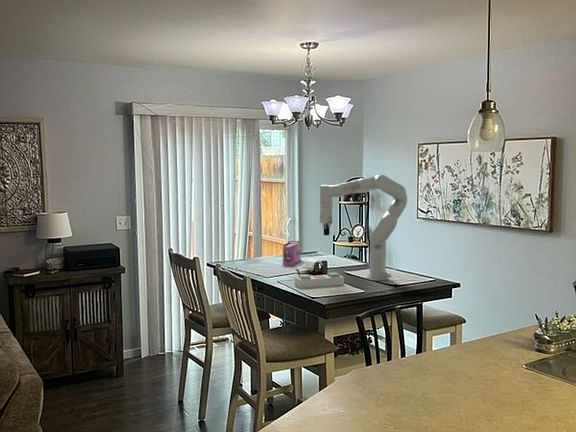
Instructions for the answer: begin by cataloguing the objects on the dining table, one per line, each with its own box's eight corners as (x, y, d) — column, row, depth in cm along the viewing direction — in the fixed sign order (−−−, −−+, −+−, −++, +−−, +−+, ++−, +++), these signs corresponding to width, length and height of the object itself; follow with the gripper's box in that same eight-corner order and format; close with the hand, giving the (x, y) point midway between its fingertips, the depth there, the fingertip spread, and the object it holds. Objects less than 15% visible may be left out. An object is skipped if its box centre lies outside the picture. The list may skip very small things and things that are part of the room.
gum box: (293, 265, 388) (293, 246, 387) (282, 265, 390) (282, 245, 389) (300, 259, 411) (300, 241, 410) (290, 259, 413) (290, 240, 412)
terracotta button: (322, 280, 332) (322, 275, 332) (325, 282, 327) (325, 277, 327) (313, 280, 330) (313, 275, 330) (316, 282, 325) (316, 277, 325)
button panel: (337, 281, 337) (337, 274, 337) (343, 284, 328) (343, 277, 328) (294, 284, 329) (294, 276, 329) (299, 287, 321) (299, 280, 320)
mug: (313, 269, 373) (313, 257, 372) (323, 272, 365) (323, 260, 364) (299, 271, 367) (299, 259, 366) (308, 274, 358) (308, 262, 357)
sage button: (307, 279, 329) (307, 274, 329) (310, 281, 324) (310, 276, 324) (298, 279, 328) (298, 274, 327) (301, 281, 323) (301, 276, 322)
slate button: (336, 277, 334) (336, 272, 334) (339, 279, 329) (339, 274, 329) (327, 277, 333) (327, 272, 333) (331, 279, 328) (331, 274, 327)
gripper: (316, 204, 349) (316, 233, 351) (325, 206, 335) (325, 236, 337) (327, 204, 352) (327, 233, 353) (336, 205, 337) (337, 236, 339)
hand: (326, 235), depth 345 cm, fingers closed
